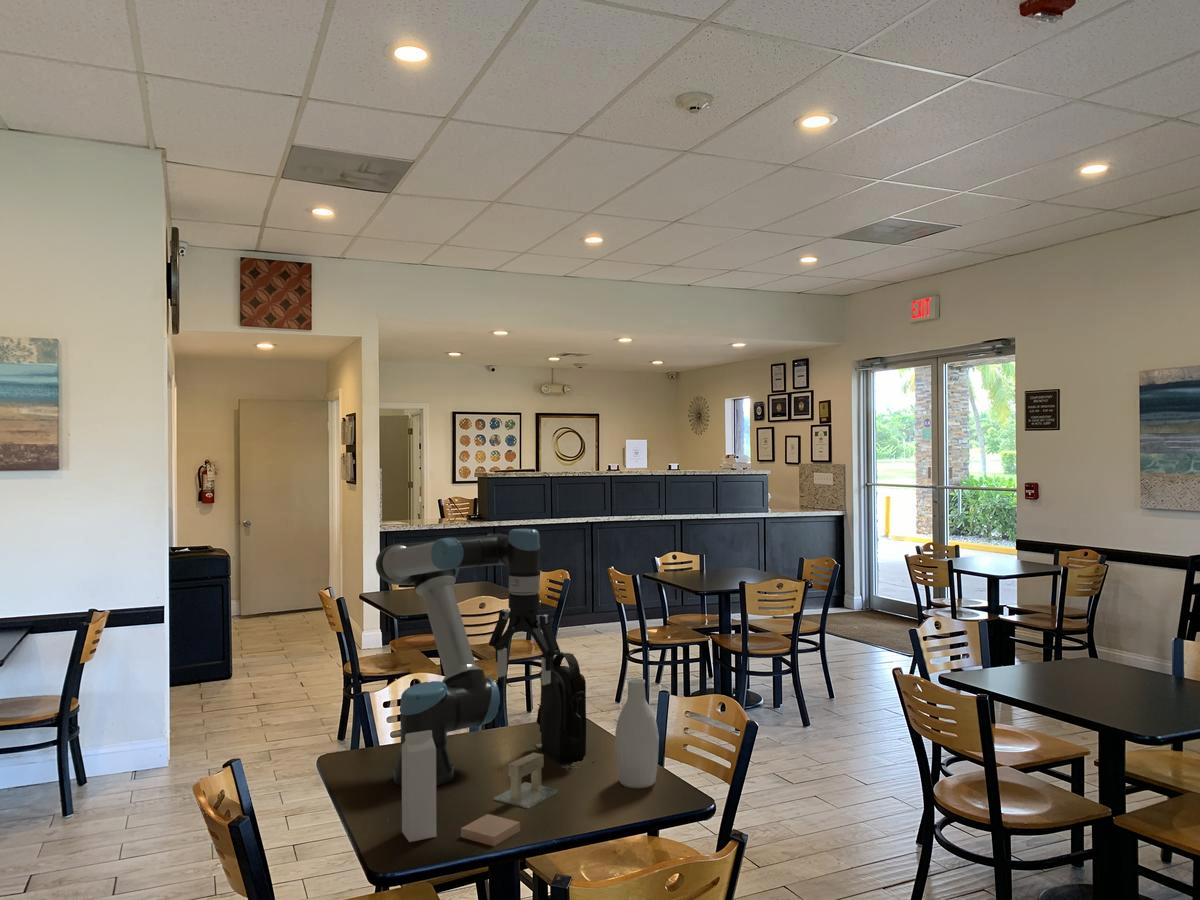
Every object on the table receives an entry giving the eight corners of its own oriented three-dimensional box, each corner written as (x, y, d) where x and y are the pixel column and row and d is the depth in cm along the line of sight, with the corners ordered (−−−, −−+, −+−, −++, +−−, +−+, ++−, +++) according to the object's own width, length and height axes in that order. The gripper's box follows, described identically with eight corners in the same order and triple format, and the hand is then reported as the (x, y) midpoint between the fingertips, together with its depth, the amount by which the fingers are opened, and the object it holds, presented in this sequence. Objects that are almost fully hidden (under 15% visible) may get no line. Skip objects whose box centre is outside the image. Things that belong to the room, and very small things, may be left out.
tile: (487, 824, 194) (461, 839, 187) (487, 813, 195) (460, 828, 187) (520, 832, 190) (494, 848, 182) (520, 822, 190) (493, 837, 182)
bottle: (662, 776, 223) (661, 676, 224) (655, 791, 212) (654, 686, 213) (620, 773, 226) (619, 674, 226) (610, 788, 215) (609, 684, 215)
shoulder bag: (596, 764, 233) (595, 659, 233) (565, 769, 229) (564, 662, 229) (564, 741, 253) (563, 644, 254) (534, 745, 249) (533, 647, 250)
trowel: (525, 785, 218) (524, 748, 218) (557, 792, 213) (557, 755, 213) (494, 800, 208) (494, 762, 208) (527, 809, 202) (527, 770, 203)
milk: (401, 832, 190) (400, 730, 190) (429, 827, 192) (427, 726, 193) (409, 842, 184) (408, 737, 185) (437, 836, 187) (436, 733, 188)
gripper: (475, 590, 217) (474, 675, 216) (556, 599, 203) (555, 690, 203) (494, 586, 223) (494, 669, 223) (574, 595, 209) (574, 683, 209)
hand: (523, 680), depth 213 cm, fingers open, 13 cm apart
